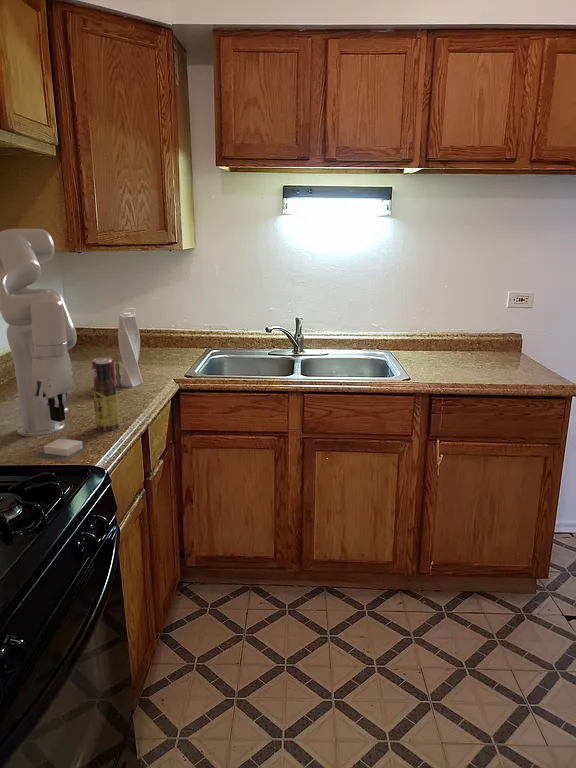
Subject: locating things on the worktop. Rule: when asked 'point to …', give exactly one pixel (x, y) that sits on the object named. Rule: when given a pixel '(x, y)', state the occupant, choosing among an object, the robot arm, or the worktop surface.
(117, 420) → the sauce bottle
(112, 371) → the soda can
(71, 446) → the cream tile
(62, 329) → the robot arm
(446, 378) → the worktop surface
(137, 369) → the skyscraper
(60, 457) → the rubber mat
